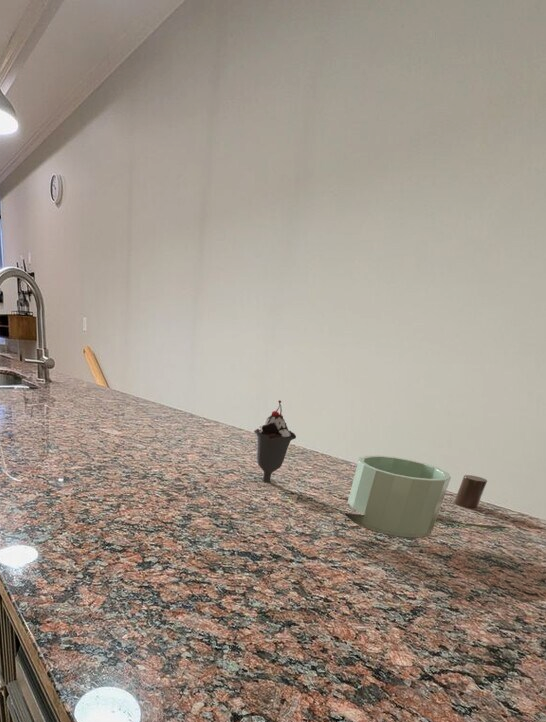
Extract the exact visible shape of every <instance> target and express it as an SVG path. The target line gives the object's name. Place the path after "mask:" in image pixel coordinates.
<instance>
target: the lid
mask: <svg viewBox="0 0 546 722" xmlns="http://www.w3.org/2000/svg"><path fill="white" fill-rule="evenodd" d="M487 484H488V480H487V479H486V478H483V477H481V476H477V475H470V474H465V475H463V477H462V479H461V482H460V485H459V488H458V491H457V493H456V496H455V499H454V502H453V503H454V504H455V505H456V506H459V507H462V508H466V509H474V510H475V509H477V508H478V506H479V504H480V501H481V499H482V496H483V493H484V491H485V488H486V485H487ZM460 524H462V525H465V526H466V525H467V526H471V527H475V528H481V529H483V528H484V529H493V530H495V529H496V530H499V529H501V530H503V529H508V526H501V525H489V524H488V525H487V524H478V523H477V524H475V523H465V522H460Z"/></svg>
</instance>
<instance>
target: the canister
mask: <svg viewBox="0 0 546 722" xmlns="http://www.w3.org/2000/svg"><path fill="white" fill-rule="evenodd" d="M357 460H358V461H357V464H356V468H355V472H354V475H353V480H352V484H351V487H350V490H349V495H348V499H347V504H348V505H349V506H350V507H351V508H352V509H354V510H355V511H357V512H358V513H361V514H355V513H345V515H346V517H347V518H348V519H349V520H350V521H352V522H354V523H355V524H356V525H359V526H361V527H362V528H364V529H368V530H370V531H374V532H376V533H377V532H378V533H379V534H380V533H381V534H384V535H387V536H393V537H398V538H399V537H400V538H410V539H411V538H412V539H413V538H414V539H416V538H417V539H418V538H424V537H427V536H429V535H431V533H432V531H433V530H434V527H435V525H436V521H437V518H438V516H439V513H440V510H441V507H442V504H443V501H444V498H445V495H446V493H447V489H448V487H449V484H450V481H451V479H452V478H451V475H450V473H448V472H447V471H446V470H443V469H441V468H440V467H437V466H435V465H431V464H428V463H425V462H420V461H417V460H413V459H408V458H402V457H396V456H388V455H363V456H359V458H358V459H357Z"/></svg>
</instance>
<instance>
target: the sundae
mask: <svg viewBox="0 0 546 722" xmlns="http://www.w3.org/2000/svg"><path fill="white" fill-rule="evenodd" d="M281 403H282V400H280V399H279V400H278V404H279V405H278V407H277V409H276V410H273V411H272V412H271V415H270V416H268V417H266V419H265V420H264V421H263V424H261V426H259V427H258V428H257V429H254V431H253V432H254V434H256V436H257V446H256V447H257V451H256V460H257V461H256V462H257V464H258V466H259V468H261V470H262V471H263V475H262V477H263V478H262V481H261V482H264V483H271V478H272V477H271V476H272V473H274V472H275V471H277V470H279V469H280V468H281V467H282V466H283V463H284V460H285V457H286V455H287V451H288V448H289V446H290V444H291V441H292V440H295V439H296V438H297V435H296V434H295V432H293V431H291V430H289V428H288V425H287V423H286V421H285V419H284V416H283V414H282V412H283V411H282V410H283V409H282V405H281ZM279 410H280V413H279V412H278V411H279Z"/></svg>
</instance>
